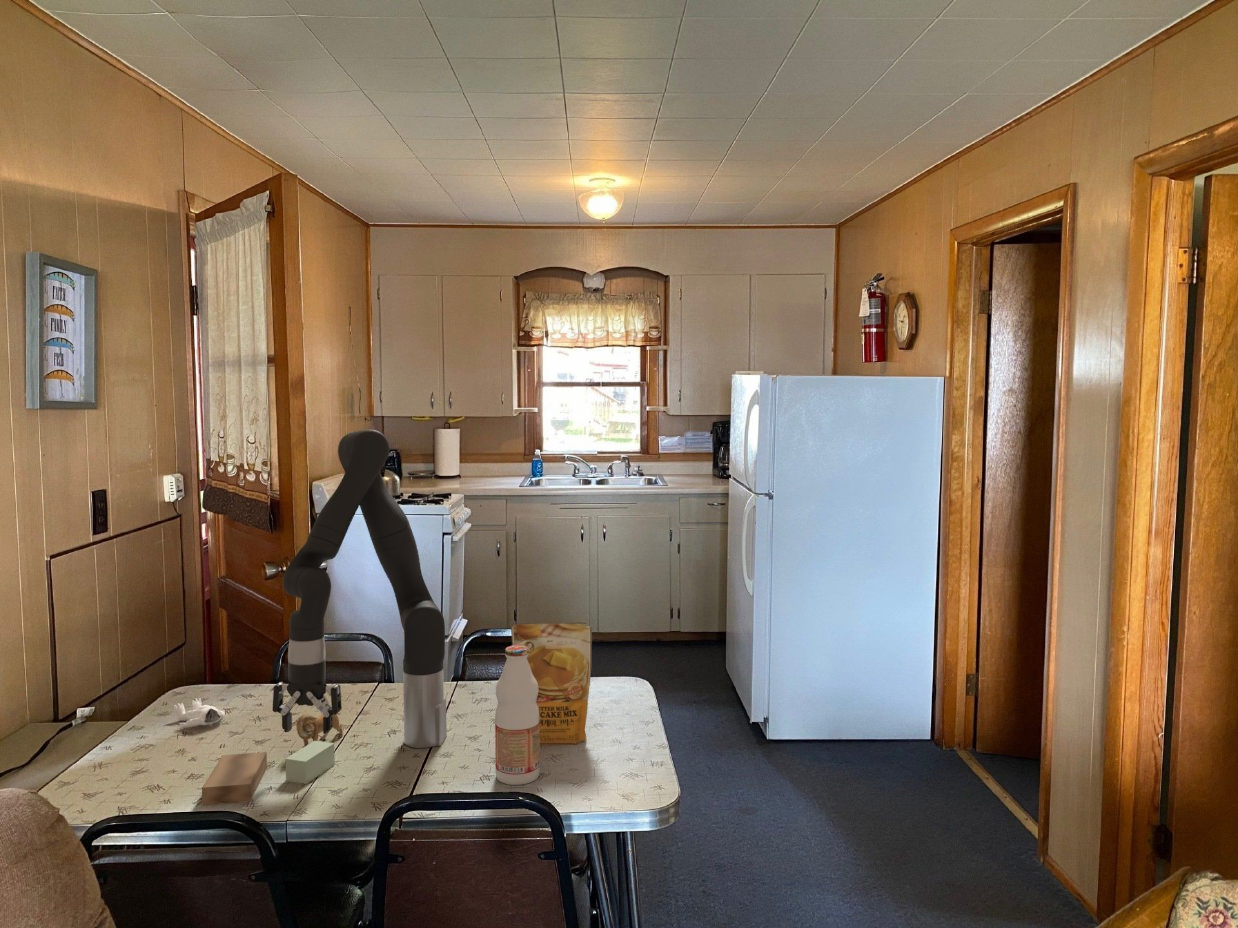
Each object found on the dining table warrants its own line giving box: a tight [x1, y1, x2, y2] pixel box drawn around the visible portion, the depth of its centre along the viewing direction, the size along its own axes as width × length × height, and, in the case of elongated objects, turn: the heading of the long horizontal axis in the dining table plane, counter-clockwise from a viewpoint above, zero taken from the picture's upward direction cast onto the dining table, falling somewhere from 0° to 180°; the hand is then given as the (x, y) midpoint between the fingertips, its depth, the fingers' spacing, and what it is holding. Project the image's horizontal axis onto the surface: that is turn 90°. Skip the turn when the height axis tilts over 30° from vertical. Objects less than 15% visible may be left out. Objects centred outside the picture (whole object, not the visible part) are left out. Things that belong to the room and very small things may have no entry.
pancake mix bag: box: [510, 621, 593, 746], centre depth 203 cm, size 7×19×28 cm, turn 91°
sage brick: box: [285, 740, 336, 785], centre depth 186 cm, size 5×10×5 cm, turn 164°
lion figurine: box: [295, 713, 344, 749], centre depth 201 cm, size 15×5×9 cm, turn 164°
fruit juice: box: [494, 645, 541, 786], centre depth 184 cm, size 9×9×28 cm
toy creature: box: [173, 697, 226, 731], centre depth 215 cm, size 12×6×12 cm
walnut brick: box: [201, 751, 268, 806], centre depth 180 cm, size 9×16×4 cm, turn 11°
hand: (307, 731), depth 186 cm, fingers open, 8 cm apart
